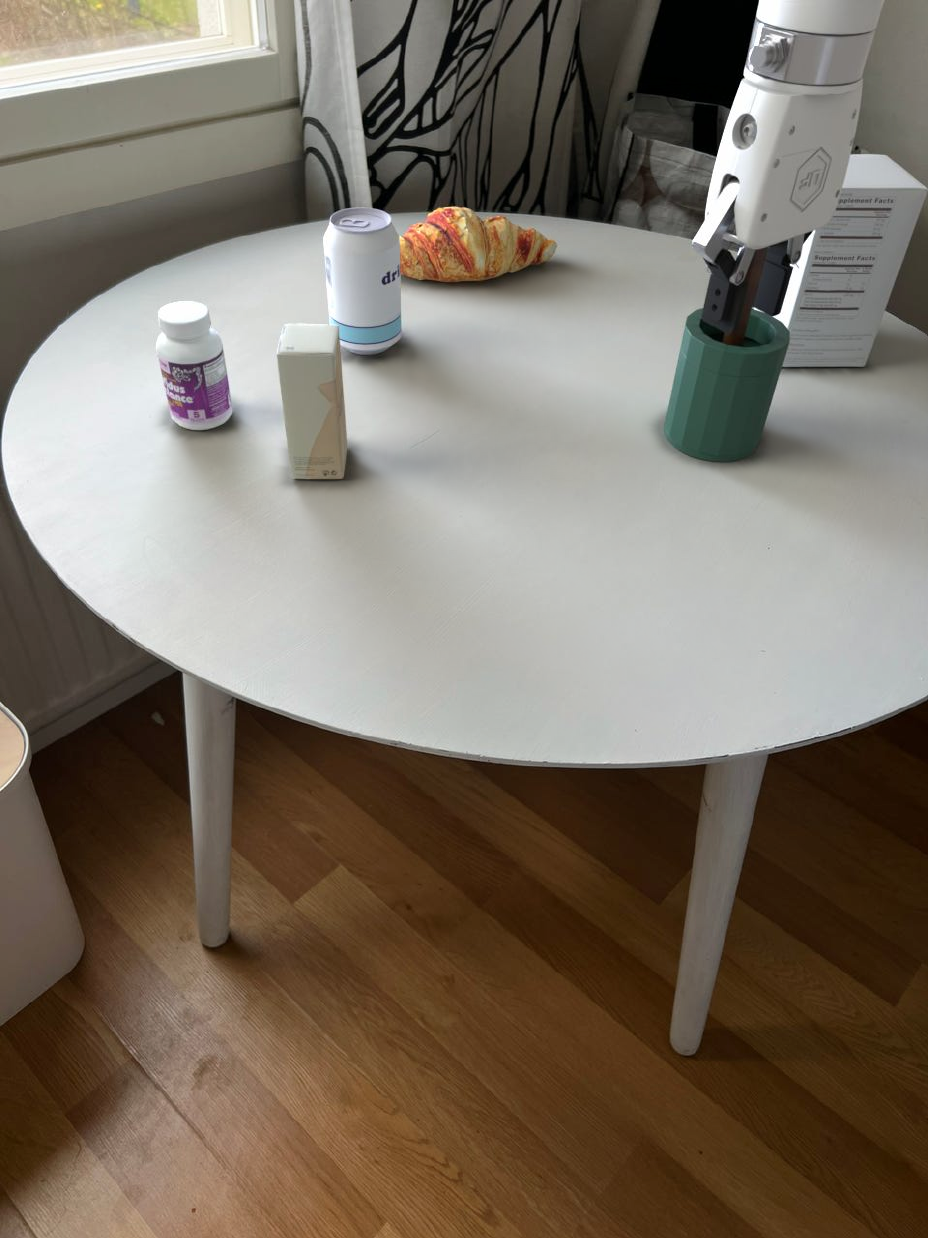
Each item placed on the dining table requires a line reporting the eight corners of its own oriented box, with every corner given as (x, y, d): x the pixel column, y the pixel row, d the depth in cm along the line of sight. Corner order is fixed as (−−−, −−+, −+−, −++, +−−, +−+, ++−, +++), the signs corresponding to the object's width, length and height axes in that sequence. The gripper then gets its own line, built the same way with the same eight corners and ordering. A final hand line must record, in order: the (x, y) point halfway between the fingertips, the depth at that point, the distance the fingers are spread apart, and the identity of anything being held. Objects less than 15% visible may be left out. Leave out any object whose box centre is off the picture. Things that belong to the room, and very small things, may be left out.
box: (343, 481, 74) (334, 355, 66) (290, 480, 74) (274, 354, 66) (348, 444, 78) (339, 321, 70) (297, 443, 78) (283, 320, 70)
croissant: (543, 280, 110) (540, 208, 107) (572, 273, 100) (570, 193, 98) (367, 291, 105) (360, 216, 103) (381, 285, 96) (373, 201, 93)
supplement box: (867, 368, 90) (933, 189, 78) (775, 369, 89) (828, 188, 77) (832, 322, 96) (889, 151, 85) (746, 323, 96) (791, 150, 84)
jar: (739, 407, 84) (767, 303, 77) (772, 459, 78) (806, 351, 71) (652, 412, 83) (673, 306, 76) (679, 464, 77) (704, 355, 70)
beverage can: (391, 364, 88) (388, 238, 79) (322, 355, 88) (311, 229, 80) (409, 330, 93) (407, 208, 84) (343, 322, 93) (335, 200, 85)
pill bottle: (158, 423, 79) (133, 318, 72) (194, 394, 83) (173, 291, 76) (212, 438, 78) (192, 332, 71) (245, 407, 81) (229, 304, 75)
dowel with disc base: (725, 414, 82) (772, 234, 71) (740, 440, 79) (792, 255, 68) (682, 416, 81) (722, 235, 70) (695, 442, 78) (740, 257, 67)
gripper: (769, 87, 54) (703, 367, 67) (930, 50, 62) (844, 308, 75) (675, 58, 58) (631, 327, 71) (837, 27, 66) (771, 275, 79)
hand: (740, 315), depth 73 cm, fingers open, 4 cm apart
